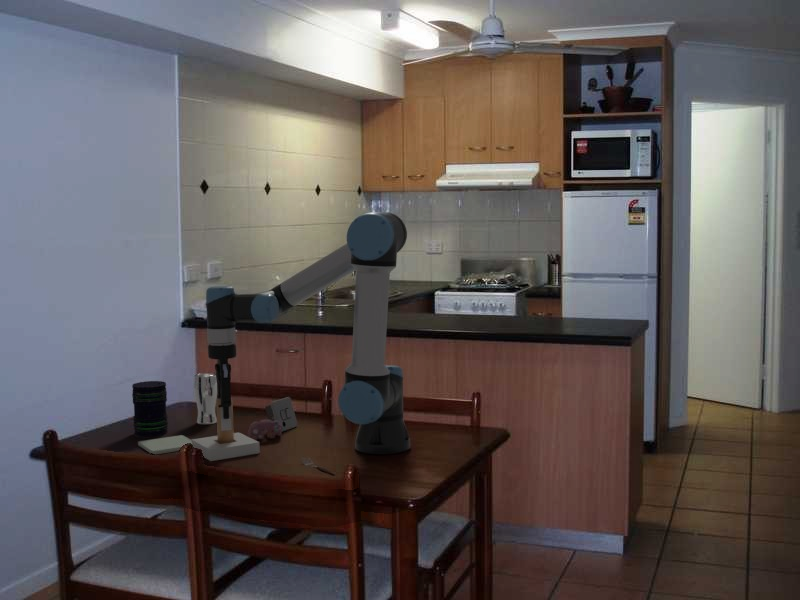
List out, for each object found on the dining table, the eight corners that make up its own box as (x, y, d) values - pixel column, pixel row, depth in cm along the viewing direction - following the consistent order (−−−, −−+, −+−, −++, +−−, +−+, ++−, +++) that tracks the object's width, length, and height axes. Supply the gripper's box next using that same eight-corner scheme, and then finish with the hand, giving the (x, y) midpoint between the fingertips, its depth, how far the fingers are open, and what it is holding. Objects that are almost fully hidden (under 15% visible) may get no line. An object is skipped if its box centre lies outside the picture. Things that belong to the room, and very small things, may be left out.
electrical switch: (280, 433, 277) (276, 402, 276) (266, 433, 279) (262, 402, 279) (298, 426, 285) (295, 396, 284) (284, 426, 287) (281, 396, 287)
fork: (330, 478, 231) (330, 470, 231) (299, 464, 244) (299, 456, 244) (339, 476, 232) (339, 468, 232) (308, 462, 245) (308, 455, 245)
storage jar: (134, 438, 272) (132, 388, 271) (133, 431, 282) (131, 382, 280) (169, 435, 275) (167, 385, 274) (167, 428, 285) (165, 380, 283)
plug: (234, 443, 255) (233, 400, 253) (218, 445, 253) (216, 401, 252) (233, 440, 259) (231, 397, 258) (216, 441, 257) (215, 398, 256)
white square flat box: (259, 453, 254) (259, 442, 254) (210, 461, 247) (210, 450, 246) (239, 442, 266) (238, 432, 266) (191, 450, 258) (191, 439, 258)
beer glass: (191, 424, 290) (189, 376, 288) (202, 419, 296) (200, 372, 295) (211, 425, 288) (210, 377, 286) (222, 420, 294) (220, 373, 293)
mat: (198, 447, 261) (198, 444, 261) (152, 454, 254) (152, 451, 254) (182, 438, 272) (182, 435, 272) (138, 445, 265) (137, 441, 265)
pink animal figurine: (248, 445, 269) (249, 426, 265) (246, 435, 272) (247, 416, 269) (282, 442, 272) (284, 424, 268) (280, 432, 275) (281, 414, 272)
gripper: (240, 346, 246) (243, 433, 248) (232, 338, 263) (235, 420, 265) (211, 348, 244) (214, 436, 246) (204, 340, 261) (208, 422, 263)
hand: (225, 427), depth 256 cm, fingers closed on plug, 4 cm apart
